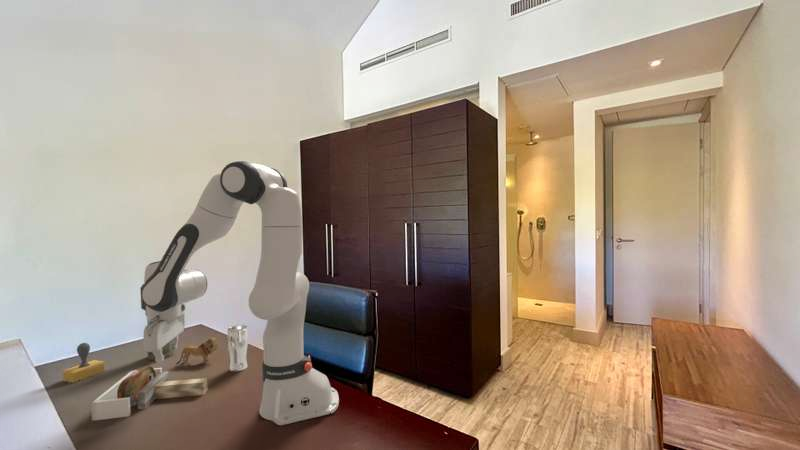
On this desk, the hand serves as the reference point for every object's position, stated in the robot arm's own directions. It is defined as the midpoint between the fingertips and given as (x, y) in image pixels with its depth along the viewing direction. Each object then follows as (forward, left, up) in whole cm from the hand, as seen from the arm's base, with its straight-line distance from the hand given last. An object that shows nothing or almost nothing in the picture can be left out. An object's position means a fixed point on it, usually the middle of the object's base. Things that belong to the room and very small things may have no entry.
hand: (167, 355), depth 111 cm
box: (+11, 0, -13) cm, 17 cm away
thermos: (+17, -36, -13) cm, 42 cm away
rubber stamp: (+36, -23, -13) cm, 45 cm away
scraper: (-3, 0, -13) cm, 13 cm away
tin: (+9, 0, -13) cm, 16 cm away
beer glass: (-17, -16, -13) cm, 27 cm away
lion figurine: (-1, -26, -13) cm, 29 cm away
